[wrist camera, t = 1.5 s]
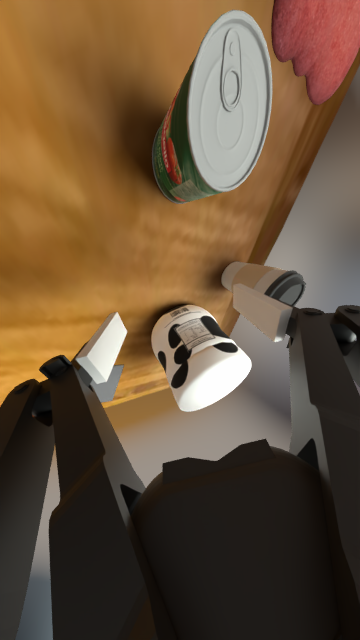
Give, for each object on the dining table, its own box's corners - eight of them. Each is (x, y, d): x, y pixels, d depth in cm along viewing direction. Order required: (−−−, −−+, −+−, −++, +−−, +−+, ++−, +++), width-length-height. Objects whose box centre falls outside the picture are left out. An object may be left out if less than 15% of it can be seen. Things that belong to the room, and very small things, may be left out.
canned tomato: (205, 196, 22) (262, 181, 14) (162, 210, 20) (196, 202, 12) (199, 112, 16) (286, 4, 8) (141, 123, 15) (176, 11, 7)
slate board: (69, 407, 37) (68, 408, 37) (73, 367, 30) (73, 368, 30) (112, 399, 43) (112, 400, 43) (123, 364, 36) (123, 365, 36)
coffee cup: (239, 290, 38) (291, 318, 27) (213, 292, 34) (262, 326, 23) (251, 256, 33) (323, 274, 22) (223, 255, 29) (292, 275, 18)
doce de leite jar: (181, 354, 44) (211, 410, 31) (135, 342, 33) (151, 421, 20) (215, 315, 40) (267, 361, 26) (175, 286, 29) (229, 341, 16)
